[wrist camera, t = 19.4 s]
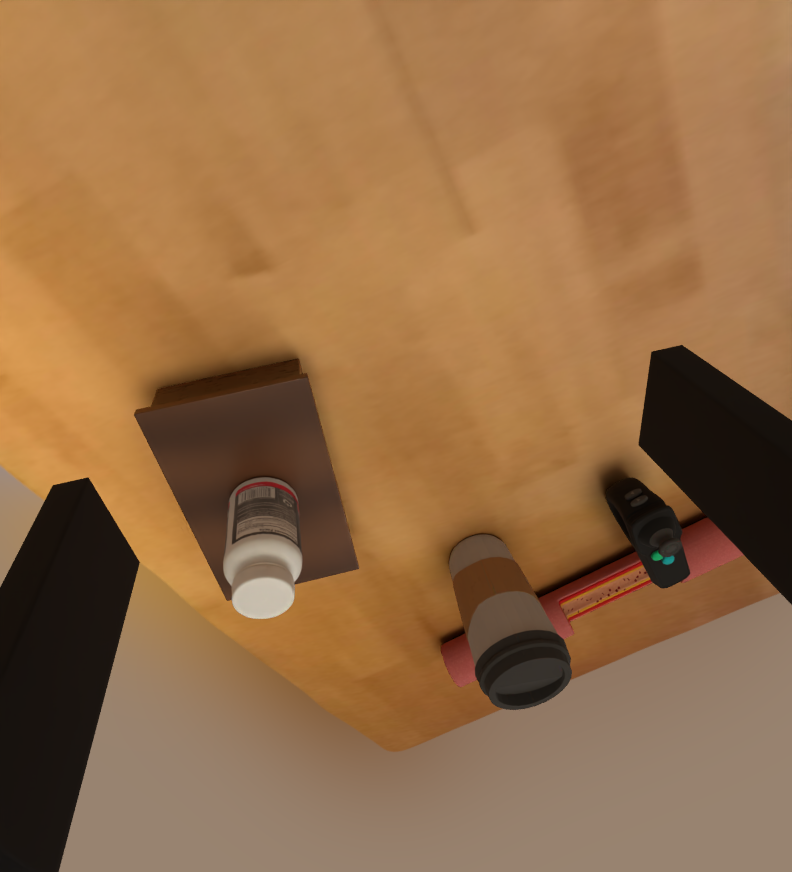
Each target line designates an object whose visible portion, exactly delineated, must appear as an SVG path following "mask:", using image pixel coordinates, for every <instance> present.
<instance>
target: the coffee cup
mask: <svg viewBox="0 0 792 872" xmlns="http://www.w3.org/2000/svg"><path fill="white" fill-rule="evenodd" d="M449 569H450V573H451V577H452V580H453V587H454V591H455V595H456V599H457V603H458V607H459V611H460V614H461V618H462V622H463V626H464V630H465V634H466V638H467V640H468V642H469V645H470V649H471V653H472V657H473V661H474V665H475V677H476V678H477V680H478V681H479V685H480V687H481V689H482V691H483V692H484V694H486V695H487V696H488V697H489V699H490V700H491V702H492V703H493V704H494V705H496V706H497V707H499V708H503V709H510V710H518V709H525V708H529V707H533V706H536V705H539V704H541V703H544V702H546V701H547V700H549V699H551V698H553V697H555V696H556V695H557V694H559V693H560V692H561V691H562V690H563V689H564V688H565V687H566V686H567V684H568V683H569V681H570V679H571V674H572V670H571V668H570V659H571V658H570V655H569V653H568V650H567V647H566V644H565V642H564V639H563V638H562V637H560V636H559V635H558V633H557V632H556V630H555V628H554V627H553V625H552V623H551V622H550V620H549V618H548V616H547V615H546V613H545V611H544V609H543V607H542V604H541V603H540V601H539V599H538V598H537V596H536V594H535V592H534V591H533V589H532V587H531V586H530V584H529V582H528V581H527V579H526V577H525V576H524V574H523V572H522V571H521V569H520V567H519V565H518V564H517V563H516V562H515V560H514V559H513V557H512V555H511V553H510V552H509V550H508V548H507V547H506V545H505V544H504V543H503V542H502V541H501V540H499V539H498V538H496V537H494V536H492V535H487V534H481V535H475V536H471V537H469V538H466V539H464V540H463V541H461V542H460V543H459V544H458V545H457V546H456V547H455V548H454V549H453V551H452V553H451V556H450V561H449Z"/></svg>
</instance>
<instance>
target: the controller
mask: <svg viewBox="0 0 792 872" xmlns="http://www.w3.org/2000/svg"><path fill="white" fill-rule="evenodd" d="M606 500H607V503H608V505H609V507H610V509H611V511H612V513H613V515H614V517H615V519H616V520H617V522H618V524H619V525H620V527H621V529H622V530H623V532H624V533H625V535H626V536H627V538H628V539H629V541H630V542H631V544H632V545H633V547H634V548H635V550H636V552H637V554H638V556H639V558H640V560H641V562H642V564H643V566H644V568H645V570H646V572H647V574H648V576H649V578H650V580H651V582H653V583H654V584H656V585H657V586H659V587H660V588H668V587H670V586H672V585H674V584H676V583H678V582H680V581H682V580H684V579H686V578H687V577H688V576H689V575H690V569H689V566H688V562H687V559H686V556H685V552H684V549H683V546H682V542H681V535H682V529H681V526H680V524H679V522H678V520H677V517H676V515H675V513H674V511H673V509H672V508H671V507H670V506H668V505H667V506H666V504H665V503H664V501H663V500H662V499H661V498H660V497H659V496H657V495H656V494H654V493H653V492H652V491H650V490H649V489H648V488H647V487H646V486H645V485H644V484H643V483H642V482H640V481H639V480H637V479H635V478H625V479H623V480H621V481H619V482H617V483H615V484H614V485H612V486H611V487H609V489H608V490H607V491H606Z"/></svg>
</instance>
